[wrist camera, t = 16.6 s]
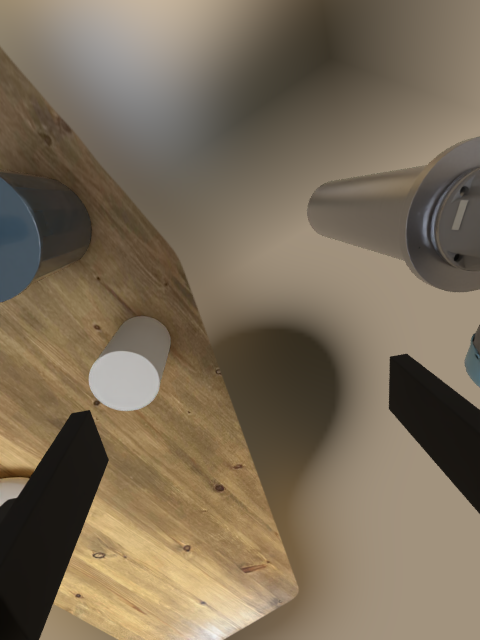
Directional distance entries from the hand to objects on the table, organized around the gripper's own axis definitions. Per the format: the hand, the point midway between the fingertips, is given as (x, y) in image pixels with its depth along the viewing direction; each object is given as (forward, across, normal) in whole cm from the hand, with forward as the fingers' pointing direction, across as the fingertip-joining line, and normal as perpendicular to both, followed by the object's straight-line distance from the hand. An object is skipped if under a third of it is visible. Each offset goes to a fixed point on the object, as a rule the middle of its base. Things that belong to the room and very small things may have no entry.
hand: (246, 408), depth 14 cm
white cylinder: (+35, -14, -10) cm, 39 cm away
